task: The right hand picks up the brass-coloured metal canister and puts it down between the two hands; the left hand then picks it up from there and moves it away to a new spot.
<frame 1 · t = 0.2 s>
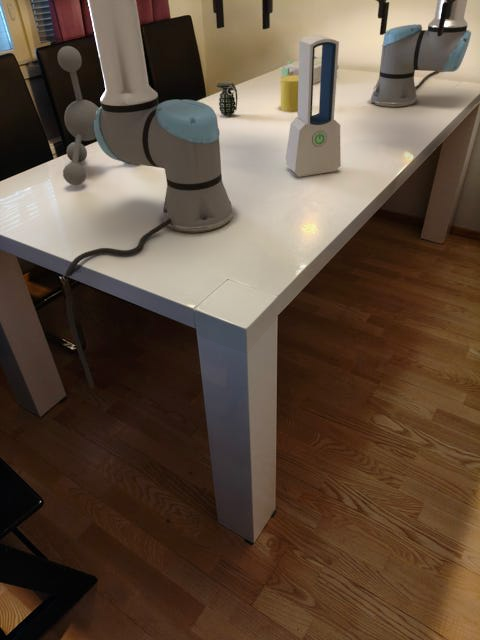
left hand: (242, 28, 128), 30 cm above the table, tool pointing down, fingers open, 13 cm apart
right hand: (410, 34, 118), 28 cm above the table, tool pointing down, fingers open, 13 cm apart
electronic device: (312, 170, 126), on the table
molecular model: (104, 169, 134), on the table
grenade: (228, 115, 169), on the table
decorative block: (308, 78, 208), on the table
canister: (293, 108, 173), on the table
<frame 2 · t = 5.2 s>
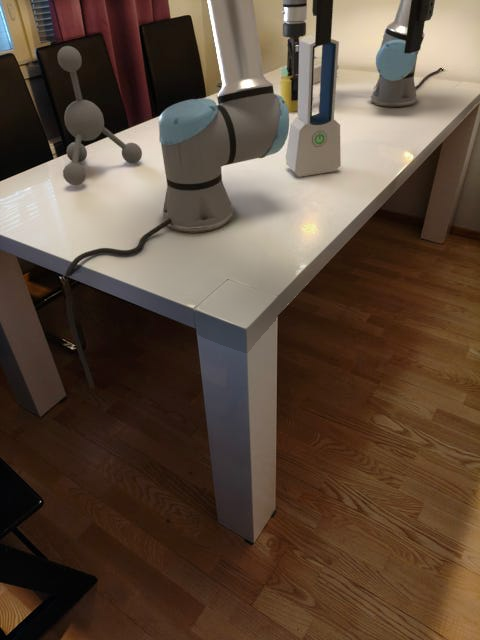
left hand: (364, 47, 65), 36 cm above the table, tool pointing down, fingers open, 13 cm apart
right hand: (293, 96, 171), 4 cm above the table, tool pointing down, fingers closed on canister, 9 cm apart
canister: (293, 108, 173), on the table, touching right hand
everything else where it was.
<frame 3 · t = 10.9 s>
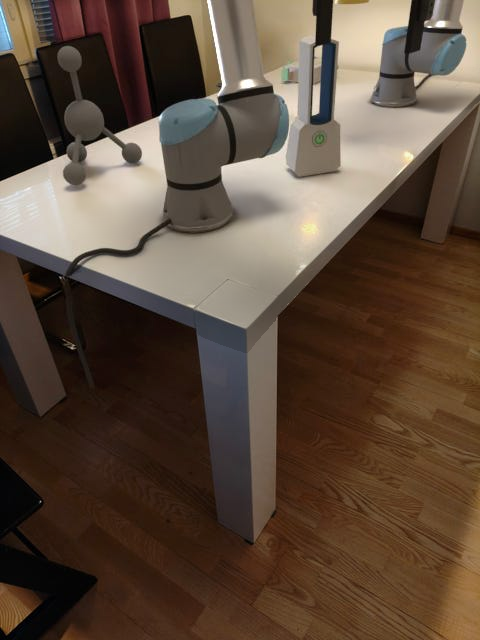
left hand: (364, 47, 65), 36 cm above the table, tool pointing down, fingers open, 13 cm apart
canister: (350, 2, 123), point 34 cm above the table, touching right hand
everything else where it was.
when the right hand's fingers open (5 cm above the table, at t = 16.6 s): canister drops 1 cm, on the table.
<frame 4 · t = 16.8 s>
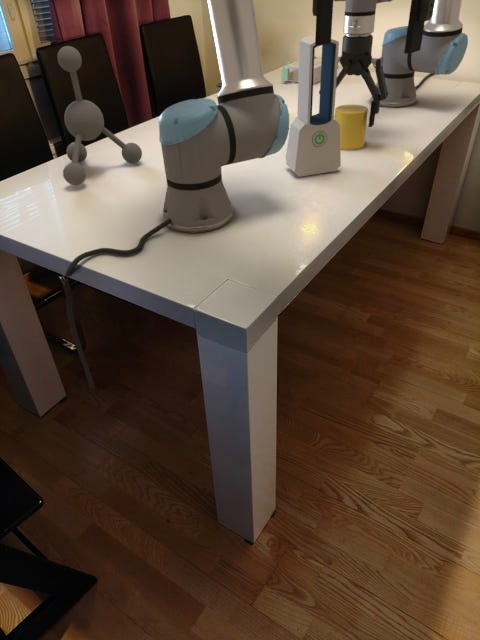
left hand: (364, 47, 65), 36 cm above the table, tool pointing down, fingers open, 13 cm apart
right hand: (350, 123, 137), 6 cm above the table, tool pointing down, fingers open, 11 cm apart
canister: (348, 144, 140), on the table
everything else where it was.
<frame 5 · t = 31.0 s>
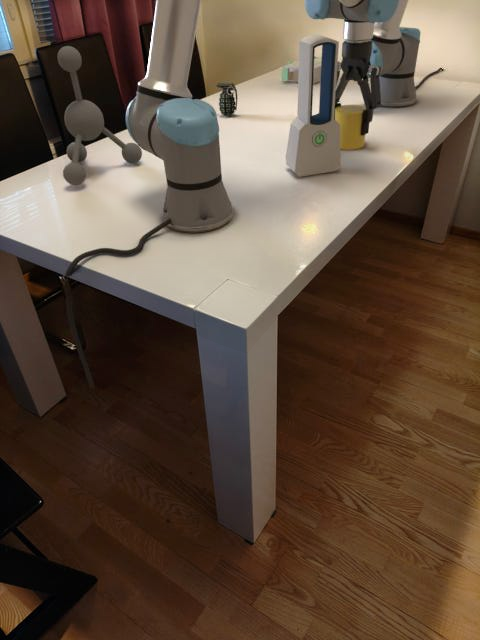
left hand: (349, 130, 138), 4 cm above the table, tool pointing down, fingers closed on canister, 9 cm apart
canister: (348, 144, 140), on the table, touching left hand
everything else where it was.
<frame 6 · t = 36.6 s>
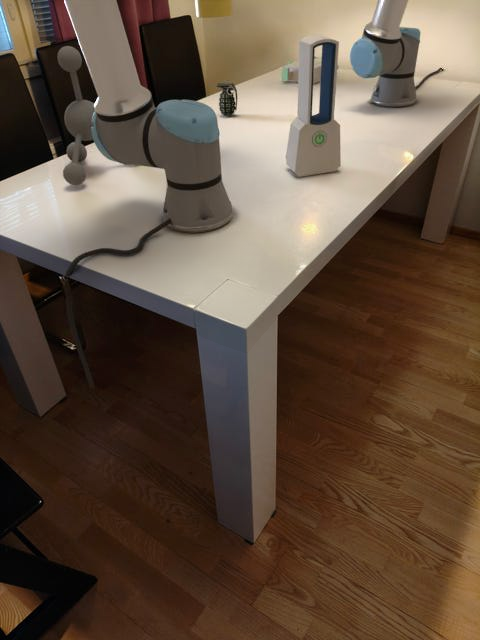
canister: (214, 15, 119), point 34 cm above the table, touching left hand
everything else where it was.
when the left hand's fingers open (5 cm above the table, at t = 42.6 s): canister drops 1 cm, on the table.
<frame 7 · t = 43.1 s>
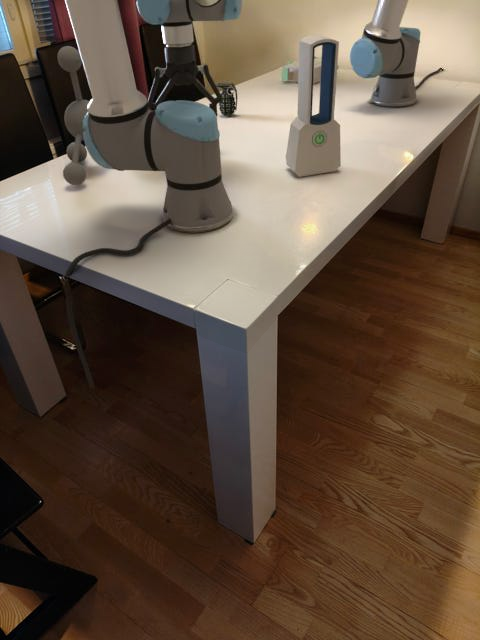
left hand: (188, 131, 135), 7 cm above the table, tool pointing down, fingers open, 13 cm apart
canister: (191, 155, 139), on the table
everything else where it was.
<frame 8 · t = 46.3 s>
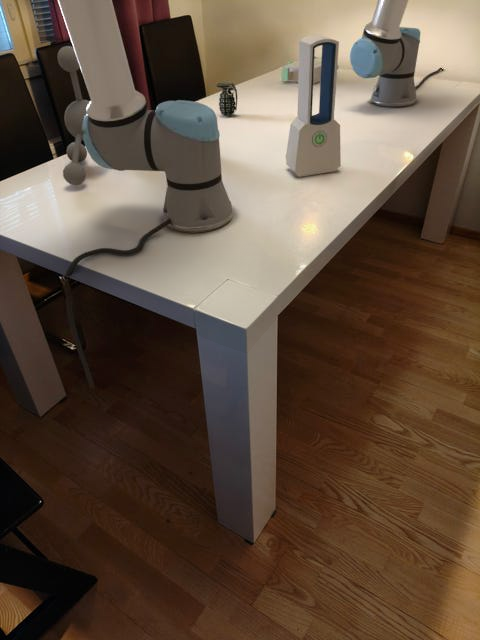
nothing on the table moved.
at the end: canister inside the target area (0.0 cm from its centre), on the table; canister tilted 0°; the two hands never held the canister at the same time; the left hand is holding nothing; the right hand is holding nothing; canister at rest at the end (0.0 cm/s) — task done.
